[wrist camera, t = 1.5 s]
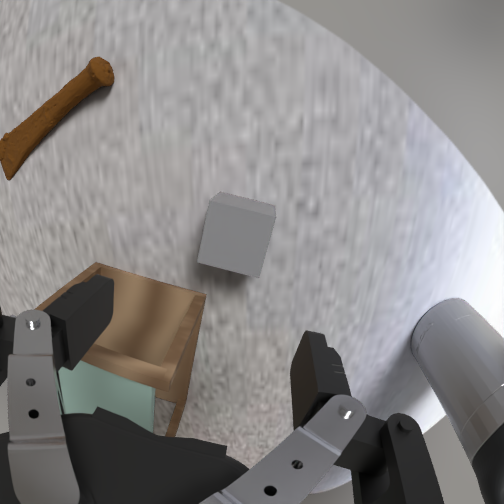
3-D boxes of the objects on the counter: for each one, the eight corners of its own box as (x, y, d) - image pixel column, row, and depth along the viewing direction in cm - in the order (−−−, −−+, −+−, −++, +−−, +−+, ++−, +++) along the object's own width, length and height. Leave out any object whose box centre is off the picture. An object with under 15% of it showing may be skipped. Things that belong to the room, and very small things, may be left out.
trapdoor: (160, 367, 21) (147, 394, 18) (154, 457, 25) (147, 478, 22) (11, 305, 20) (-10, 321, 17) (36, 405, 25) (24, 421, 22)
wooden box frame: (206, 294, 30) (169, 382, 18) (185, 402, 35) (160, 483, 23) (95, 262, 30) (20, 321, 18) (98, 372, 35) (54, 439, 23)
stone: (275, 205, 27) (276, 217, 22) (261, 256, 29) (259, 278, 24) (220, 191, 27) (209, 200, 22) (209, 243, 29) (196, 262, 24)
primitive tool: (10, 181, 28) (-9, 186, 25) (-2, 146, 26) (-21, 148, 23) (122, 84, 24) (105, 77, 21) (105, 45, 23) (88, 36, 20)
